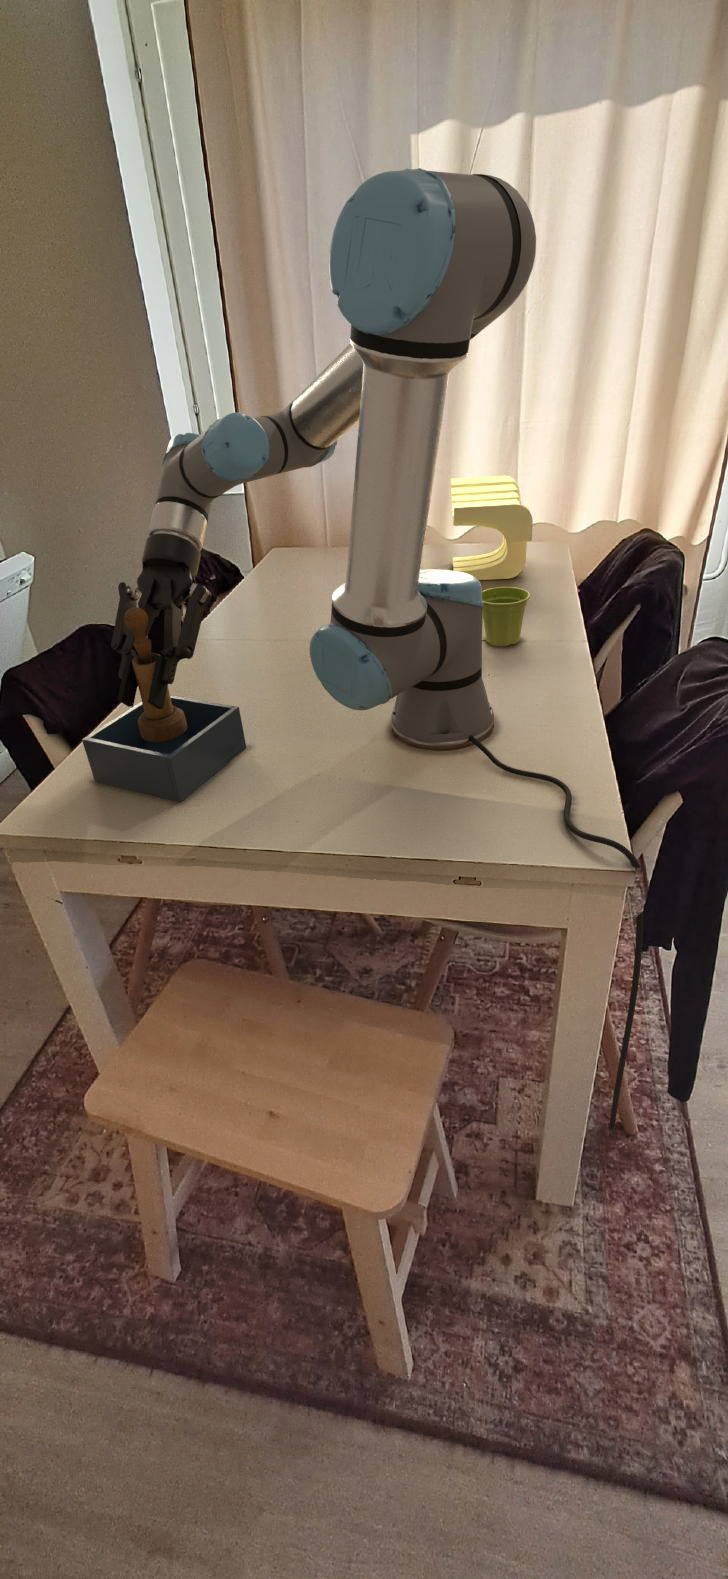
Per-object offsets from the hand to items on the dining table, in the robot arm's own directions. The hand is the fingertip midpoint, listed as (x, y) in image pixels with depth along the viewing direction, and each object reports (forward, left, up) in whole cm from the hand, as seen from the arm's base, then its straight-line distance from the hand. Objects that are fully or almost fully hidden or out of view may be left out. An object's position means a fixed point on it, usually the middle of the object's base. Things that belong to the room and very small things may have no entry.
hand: (140, 704), depth 102 cm
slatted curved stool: (+22, -100, -12) cm, 103 cm away
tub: (+2, -3, -11) cm, 12 cm away
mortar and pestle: (+2, -3, -6) cm, 7 cm away
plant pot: (-7, -68, -12) cm, 70 cm away
